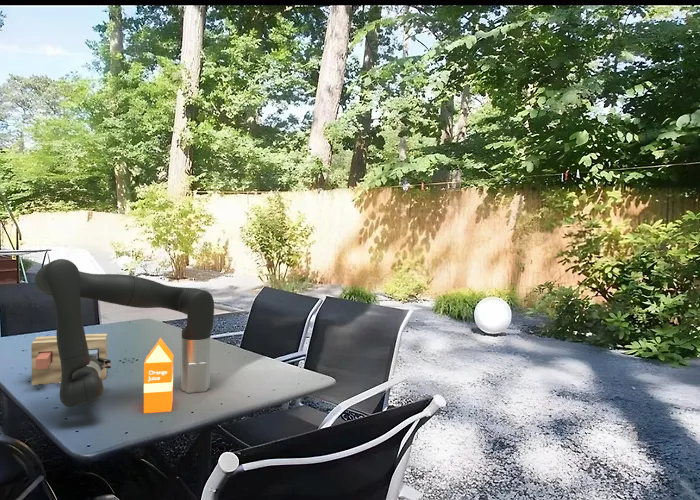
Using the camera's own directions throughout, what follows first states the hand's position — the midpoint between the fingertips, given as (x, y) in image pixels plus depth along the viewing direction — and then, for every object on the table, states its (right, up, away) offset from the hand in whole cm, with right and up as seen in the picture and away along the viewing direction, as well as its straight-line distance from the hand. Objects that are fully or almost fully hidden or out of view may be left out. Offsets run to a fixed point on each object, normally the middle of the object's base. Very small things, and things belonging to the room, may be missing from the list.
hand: (91, 358), depth 170 cm
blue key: (-2, -1, +5) cm, 6 cm away
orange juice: (+29, -11, -17) cm, 35 cm away
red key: (-14, -1, -3) cm, 14 cm away
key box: (-11, -8, +7) cm, 16 cm away
